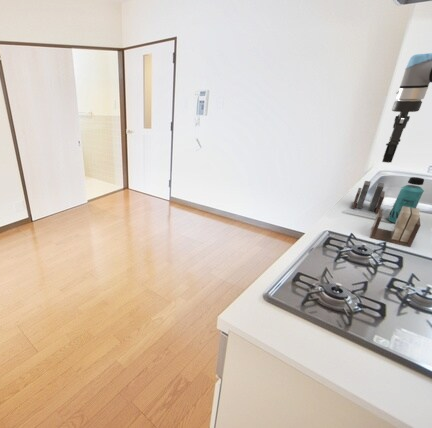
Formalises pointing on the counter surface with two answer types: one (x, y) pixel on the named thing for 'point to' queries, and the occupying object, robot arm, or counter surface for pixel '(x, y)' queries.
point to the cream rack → (399, 227)
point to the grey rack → (376, 198)
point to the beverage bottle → (407, 197)
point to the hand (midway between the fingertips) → (387, 159)
